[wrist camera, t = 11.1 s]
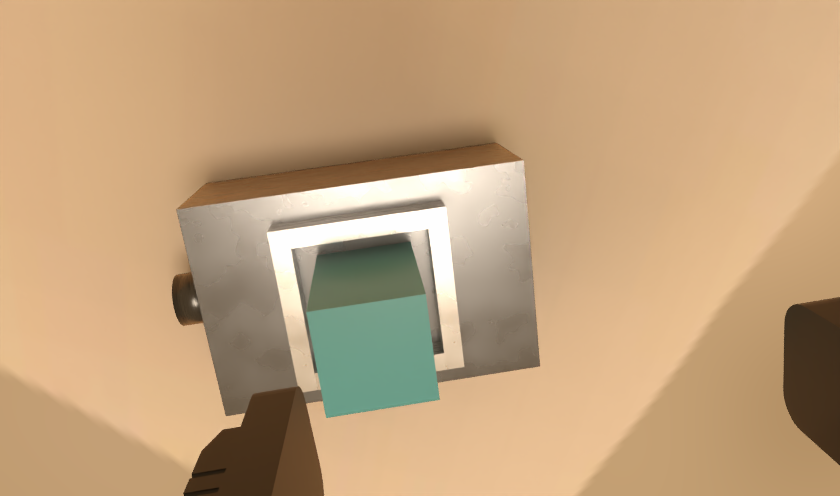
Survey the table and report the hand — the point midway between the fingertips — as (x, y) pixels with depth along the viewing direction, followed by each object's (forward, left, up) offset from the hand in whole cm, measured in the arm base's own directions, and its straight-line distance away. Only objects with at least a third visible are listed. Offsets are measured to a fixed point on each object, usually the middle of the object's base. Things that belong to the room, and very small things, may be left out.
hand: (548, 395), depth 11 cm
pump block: (+3, +7, -24) cm, 25 cm away
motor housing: (+3, +7, -31) cm, 32 cm away
